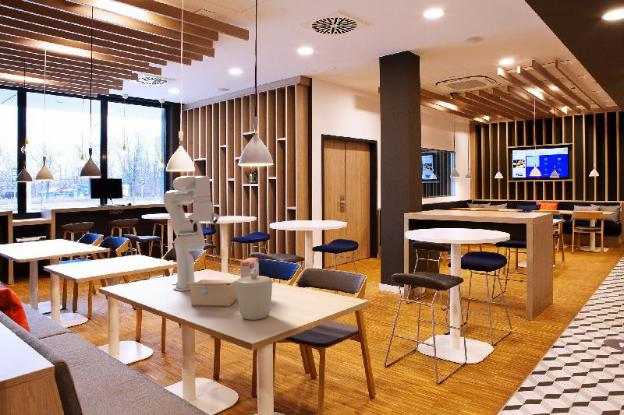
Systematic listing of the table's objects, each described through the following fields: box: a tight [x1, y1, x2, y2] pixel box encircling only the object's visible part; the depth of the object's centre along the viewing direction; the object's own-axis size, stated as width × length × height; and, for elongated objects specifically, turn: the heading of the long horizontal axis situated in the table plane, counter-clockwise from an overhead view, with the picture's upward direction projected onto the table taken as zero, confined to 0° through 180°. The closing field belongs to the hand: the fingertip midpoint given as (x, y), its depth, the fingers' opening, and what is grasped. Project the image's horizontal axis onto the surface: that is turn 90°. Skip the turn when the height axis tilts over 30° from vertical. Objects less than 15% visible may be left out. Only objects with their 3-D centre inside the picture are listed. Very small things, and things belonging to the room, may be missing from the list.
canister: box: [234, 272, 275, 321], centre depth 207 cm, size 18×18×21 cm
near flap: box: [186, 281, 228, 295], centre depth 223 cm, size 19×6×6 cm, turn 80°
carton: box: [190, 279, 238, 308], centre depth 233 cm, size 20×13×11 cm, turn 80°
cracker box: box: [239, 257, 260, 278], centre depth 241 cm, size 14×6×21 cm, turn 168°
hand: (204, 231), depth 239 cm, fingers open, 9 cm apart
